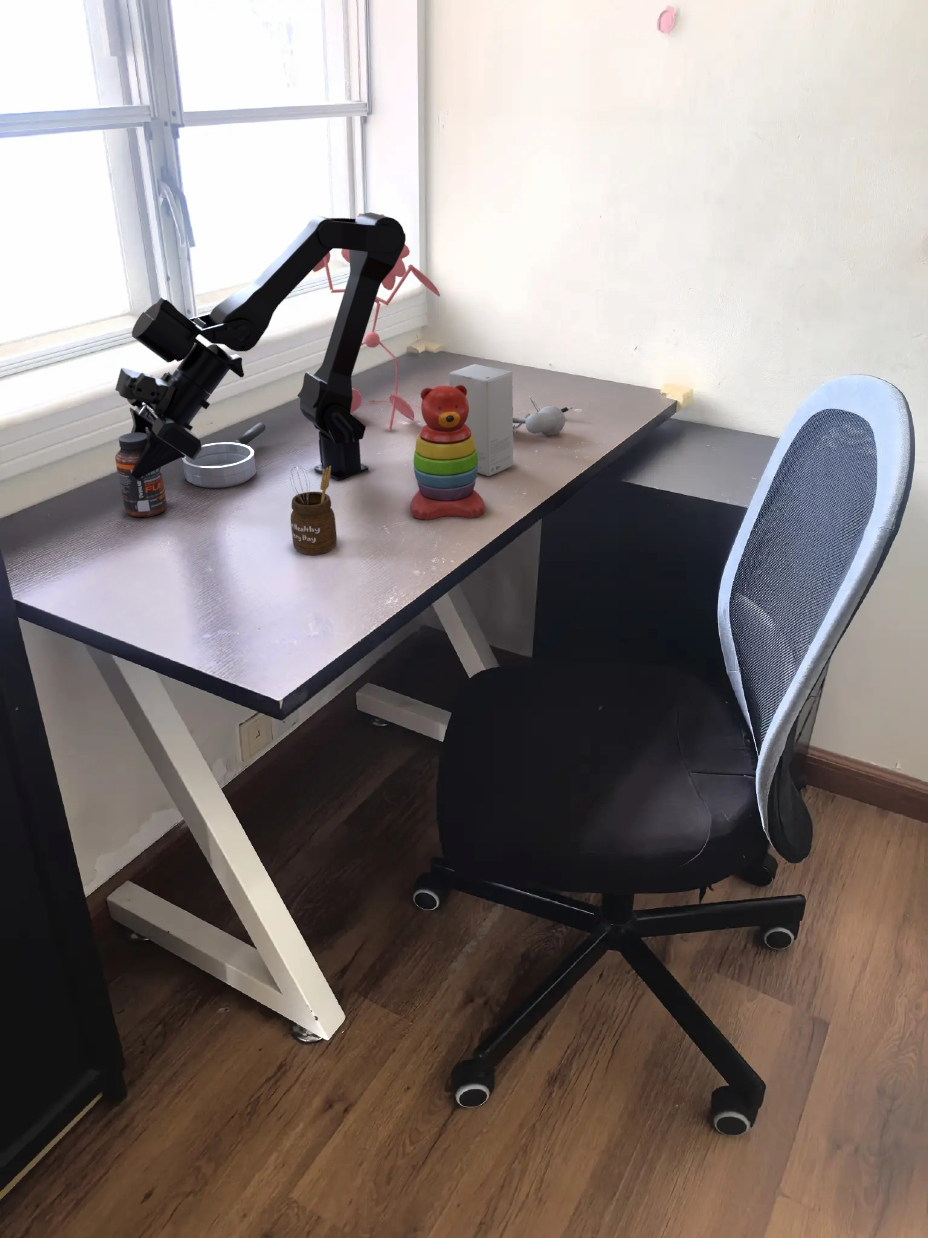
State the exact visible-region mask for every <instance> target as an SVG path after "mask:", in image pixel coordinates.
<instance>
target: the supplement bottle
mask: <svg viewBox="0 0 928 1238" xmlns="http://www.w3.org/2000/svg"><path fill="white" fill-rule="evenodd" d="M118 444H119V448H120V449H119V451H117V452H116V454H115V457H114V459H115V465H116V471H117V476H118V482H119V485H120V487H119V488H120V492H121V497H122V502H123V507H124V511H125V513H126V514H128V515H130V516H132V517H136V518H149V517H153V516H154V517H155V516H156V515H159V514H161V513H163V512H164V511H165V510H166V509H167V506H168V505H167V497H166V490H165V486H164V485H165V484H164V479H163V473H162V467H160V468H158V469H156V470H154V471H152V472H150V473H148V474H147V475H145V476H143V477H141V478H139V479H136V478H134V477H132V476H131V472H132V470H133V468H134V466H135V464H136V462H137V461H138V459H139V457H140V455H141V453H142V451H143V450H144V448H145V446H146V444H147V434H145V433H131V432H128V433H124V434H122V435H119V437H118Z"/></svg>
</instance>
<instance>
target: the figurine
mask: <svg viewBox="0 0 928 1238" xmlns="http://www.w3.org/2000/svg"><path fill="white" fill-rule="evenodd" d="M363 214H364V213H358V214H357V216H356V218H355V219H357V217H359V216H361V215H363ZM380 215H383V216H385V214H382V213H381V214H380ZM410 253H411V251H410V248H409V247H408V245H407V244H405V246H404V248H403V251H402V253H401V255H400V257H399V259H398V261H397V263H396V265H395V267H394V268H393V269H392V271H391V272H390V273H389V274H388V275H387V276H386V278H385V279H384V280H383V281H382V283H381V285H382V287H383V288H384V289H385V290H387V291H392V290H393V291H392V292H391V293H390V295H389V297H388V298H387V300H384V298H381V297H379V296H378V295H377V296H376V299H375V304H376V307H375V313H374V319H373V323H372V329H371V331H370V332H367V333H365V335H364V340H363V341H362V344H361V347H362V346H363V345H366V346H367V347H368V348H372V349H373V348H374V349H375V348H376V347H378V346H379V345H380V346H381V347H382V348H383V349H384V350H385V351H386V352H387V353H388V354H389V355H390V356H391V357H392V358H393V359H394V360H395V393H391V394H390V395H389V396H388V399H389V403H390V404H391V406H392V407H391V413H390V419H389V424H388V431H392V429H393V425H394V424H393V423H394V417H395V412H396V411H398V412H399V413H400V414H401V415H402V416H404V417H406V418H407V419H409V420H411V421H412V422H414V421H415V412H414V410H413V409H412V407H415V408H418V409H421V406H417V405H414V404H410V403H408V402H407V401H406V400H405V399H403V398H402V397H401V396H400V395H398V392H399V391H398V387H399V385H398V383H399V360H398V358H397V357H396V356H395V355H394V354H393V353H392V352H391V350H389V349H388V348H387V347H386V345H384V343H382V342H381V339H380V335H379V334H378V333H377V332H376V331H375V330H376V327H377V322H378V316H379V312H380V308H381V303H382V304H384V305H386V306H389V304H390V303H391V301H392V300H393V298H394V297H395V295H396V294H397V292H398V291H399V290H400V288H401V287H402V285H403V283H404V282H405V280H406V279H407V278H408V276H409V274H410V273H412V274H413V275H414V277H415V278H416V279H418V281H419V282H420V283H421V284H422V285H424V286H425V288H427V289H428V290H429V291H431V292H432V293H433V294H435V295H436V296H437V297H441V293H440V291H439V289H438V288H437V286H436V285H435V284H434V283H433V282H432V281H431V280H430V279H429V277H427V276H426V275H425V274H424V273H423V272H422V271H420V270H419V269H418V268H417V267H415V266H414V265H413V264H408V266H407V268H406V265H405V263H404V261H403V260H404V259H405V258H406V257H408V256H410ZM340 254H341V256H342V258H343V259H344V260H345V261H346V262H347V263H348V264H350V260H349V250H347V249H341V251H340ZM330 260H331V251H330V252H329V253H328V254H327V255H326V256H325V257H324V258H323V259H322V260H321V261H320V262H319V263H318V264H317V265H316V266H315V267H314V269H313V270H312V271H313V273H316V272H318V271H321V270H322V269H324V268H325V273H326V277H327V282H328V286H329V291H330V293H331V294H335V293H336V294H338V293H344V291H345V288H338V289H334V286H333V282H332V277H331V271H330V267H329V263H330ZM396 277H397V278H400V280H399V282H398V283H397V285H396V286H395V284H396ZM352 394H353V400H352V406H351V413H350V414H353V413H354V412H356V411H357V410H358V409H359V408H360V407H361V405H362V403H363V404H364V403H365V401H363V398H362V395H361V393H360V391H359V390H358V389H356V388H353V387H352ZM369 403H387V400H386V401H384V400H383V401H382V400H369ZM411 406H412V407H411ZM419 434H420V432H419V433H417V434H416V436H418V435H419Z"/></svg>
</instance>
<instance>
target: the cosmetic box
mask: <svg viewBox="0 0 928 1238" xmlns="http://www.w3.org/2000/svg"><path fill="white" fill-rule="evenodd" d="M457 385H463V386H465V388H466V389H467V394H466V398H467V401H468V405H469V413H468V417H467V420H466V422H465V423H464V424H466V425H467V426H468V427H469V428H470V430H471V434H472V436H473V439H474V442H475V448H476V450H477V456H478V471H477V474H480V475H483V476H486V477H490V476H493V475H496V474H498V473H500V472H503V471H505V470H507V469H509V468H511V467H513V466H514V435H513V433H514V429H513V426H514V423H513V418H514V406H513V405H514V401H513V400H514V399H513V398H514V396H513V395H514V393H513V391H514V390H513V388H514V387H513V386H514V385H513V371H509V370H504V369H501V368H495V367H490V366H485V365H482V364H477V363H473V364H471V365H467V366H465V367H462V368H460V369H456V370H453V371H451V372H449V373H448V386H452V387H456V386H457Z"/></svg>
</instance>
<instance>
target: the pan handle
mask: <svg viewBox="0 0 928 1238" xmlns="http://www.w3.org/2000/svg"><path fill="white" fill-rule="evenodd" d="M266 428H267V427H266V425H265V423H264V422H258V423H256V424H255V425H254V426H252V427H251V428H249V429H248V430H246V432H244V433H243V434H242V435H240V436H239V437H237V438H236V439H235V440H233V441H232V442H231V443H238V444H243V445H246V446H247V445H248V444H249V443H250V442H252V441H253V440H255V438H257V437H258V436H259V435H261V434H262V433H263V432H264V431H265V430H266ZM229 450H230V451H237V446H236V445H229Z"/></svg>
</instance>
